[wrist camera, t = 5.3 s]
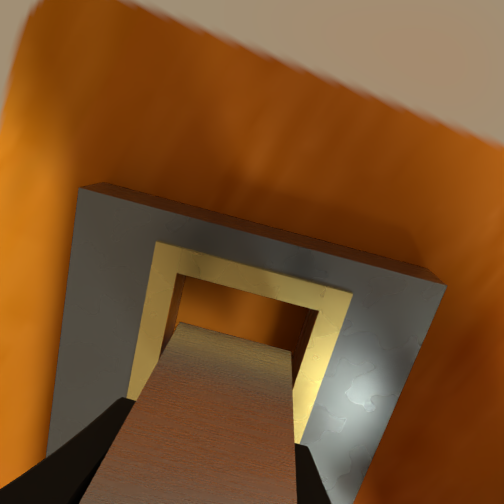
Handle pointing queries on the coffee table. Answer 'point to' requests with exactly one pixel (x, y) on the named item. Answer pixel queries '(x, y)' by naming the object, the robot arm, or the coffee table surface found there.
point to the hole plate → (251, 280)
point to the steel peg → (206, 428)
